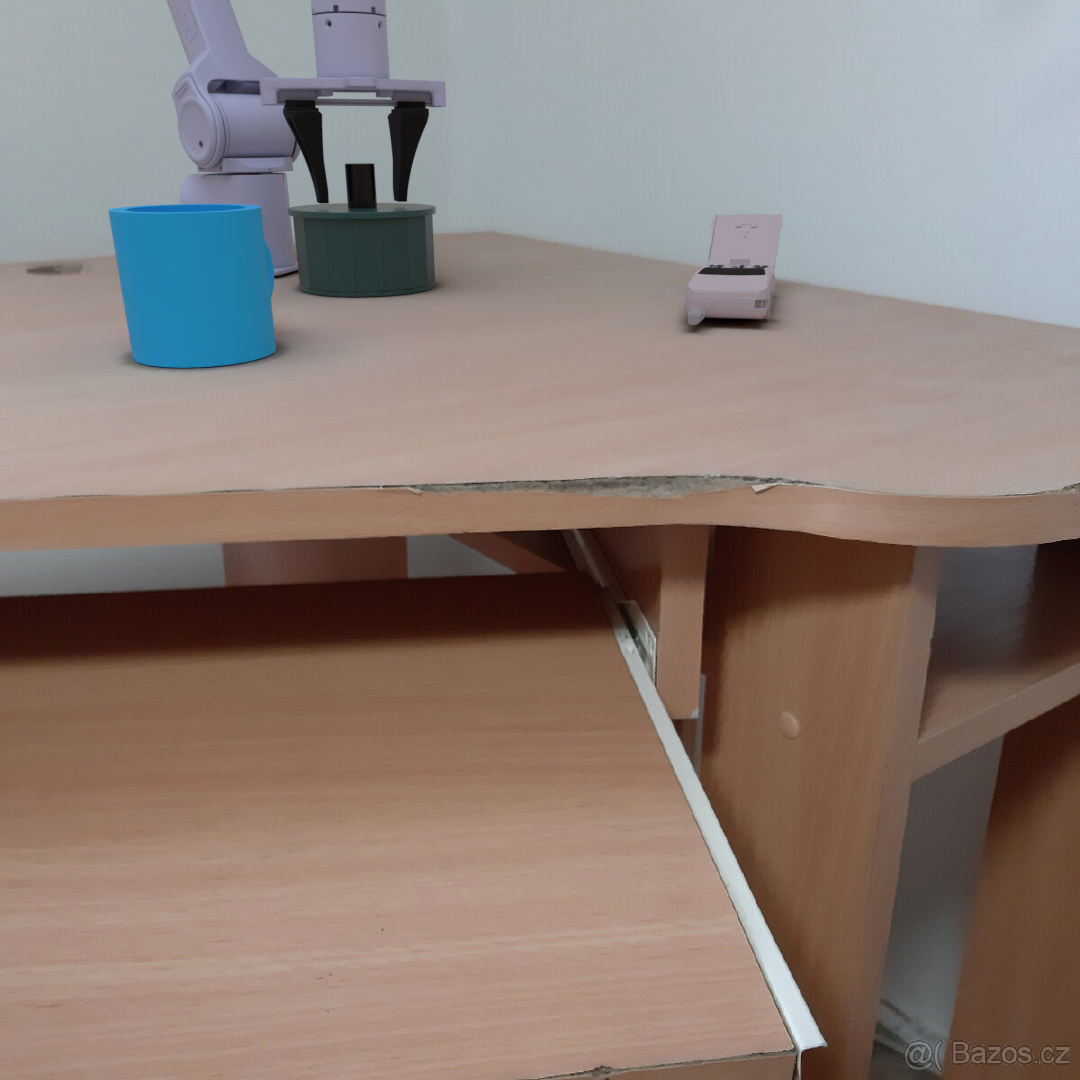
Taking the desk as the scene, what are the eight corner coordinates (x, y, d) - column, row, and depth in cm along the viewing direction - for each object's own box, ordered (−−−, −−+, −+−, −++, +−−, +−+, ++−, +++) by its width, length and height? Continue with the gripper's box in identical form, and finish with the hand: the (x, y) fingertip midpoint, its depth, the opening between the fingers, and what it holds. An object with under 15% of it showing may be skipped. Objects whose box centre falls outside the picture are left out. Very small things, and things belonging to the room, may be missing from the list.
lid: (263, 226, 76) (257, 165, 74) (322, 214, 87) (318, 161, 85) (411, 228, 74) (408, 165, 72) (452, 216, 85) (450, 162, 83)
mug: (227, 371, 52) (207, 214, 49) (101, 362, 54) (74, 211, 51) (330, 332, 63) (319, 201, 60) (221, 326, 65) (205, 199, 62)
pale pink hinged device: (784, 212, 82) (776, 238, 59) (778, 283, 84) (769, 334, 62) (713, 212, 83) (679, 237, 61) (709, 282, 85) (675, 331, 63)
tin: (277, 295, 78) (269, 217, 76) (330, 276, 88) (324, 208, 86) (411, 298, 76) (407, 219, 74) (449, 279, 87) (446, 209, 84)
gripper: (257, 7, 69) (277, 206, 74) (453, 15, 73) (458, 202, 78) (250, 17, 75) (269, 201, 80) (430, 24, 79) (437, 198, 85)
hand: (362, 202), depth 80 cm, fingers open, 6 cm apart
